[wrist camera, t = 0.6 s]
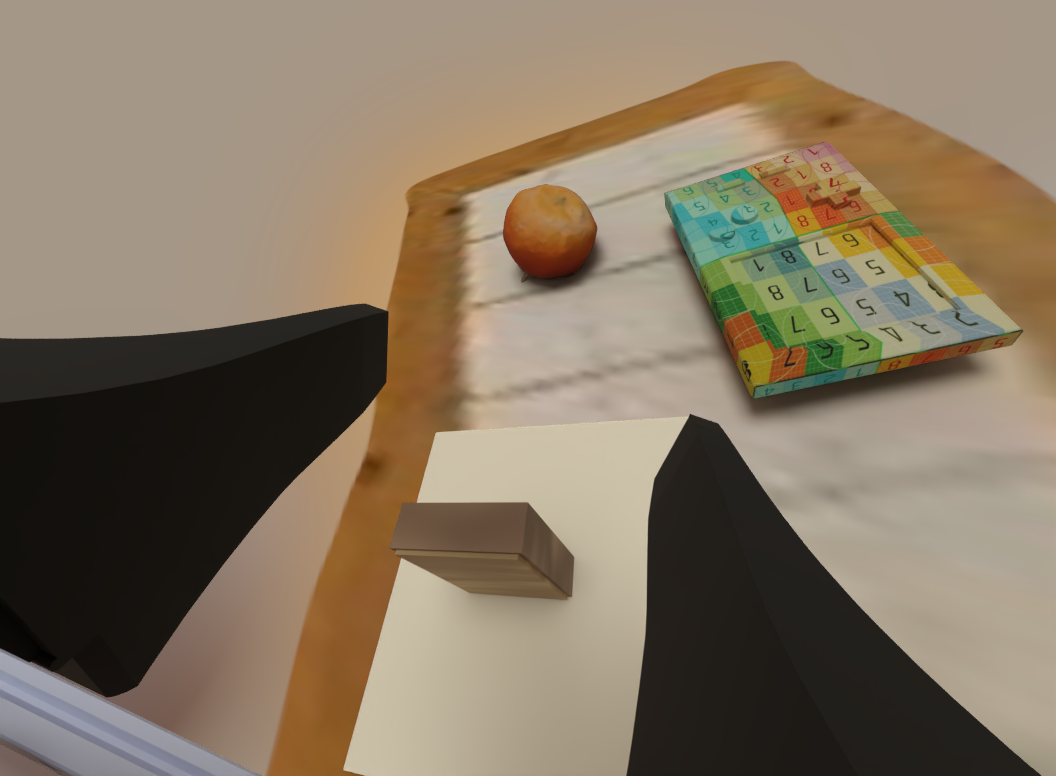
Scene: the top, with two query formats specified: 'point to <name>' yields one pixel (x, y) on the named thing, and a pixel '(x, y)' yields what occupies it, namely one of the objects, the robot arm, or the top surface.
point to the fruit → (549, 231)
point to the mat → (522, 616)
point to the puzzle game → (825, 275)
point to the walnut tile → (486, 548)
